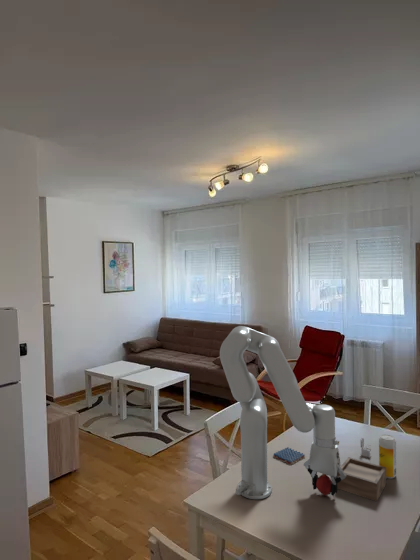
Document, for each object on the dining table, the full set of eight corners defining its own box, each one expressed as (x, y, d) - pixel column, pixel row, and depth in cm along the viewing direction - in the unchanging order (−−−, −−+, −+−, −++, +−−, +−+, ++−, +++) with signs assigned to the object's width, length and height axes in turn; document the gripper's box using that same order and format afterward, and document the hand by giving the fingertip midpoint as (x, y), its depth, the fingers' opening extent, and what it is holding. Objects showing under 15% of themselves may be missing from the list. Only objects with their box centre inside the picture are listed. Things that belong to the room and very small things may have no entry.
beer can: (381, 469, 154) (381, 432, 154) (398, 474, 150) (397, 436, 150) (377, 475, 149) (377, 437, 149) (394, 480, 145) (393, 441, 145)
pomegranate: (329, 490, 139) (329, 468, 139) (335, 499, 134) (335, 477, 134) (314, 491, 139) (314, 469, 139) (319, 500, 133) (319, 477, 133)
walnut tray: (376, 501, 132) (376, 483, 132) (336, 488, 141) (336, 471, 141) (386, 483, 144) (386, 467, 143) (348, 472, 152) (348, 457, 152)
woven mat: (271, 458, 166) (271, 453, 166) (287, 450, 173) (286, 446, 173) (290, 466, 158) (290, 462, 158) (306, 458, 165) (306, 454, 165)
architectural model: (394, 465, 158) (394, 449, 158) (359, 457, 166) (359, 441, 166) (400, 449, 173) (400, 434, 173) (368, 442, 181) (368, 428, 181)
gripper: (351, 443, 134) (352, 494, 134) (305, 431, 145) (306, 478, 145) (345, 451, 128) (345, 504, 128) (297, 438, 139) (297, 487, 139)
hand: (324, 490), depth 136 cm, fingers closed on pomegranate, 5 cm apart
